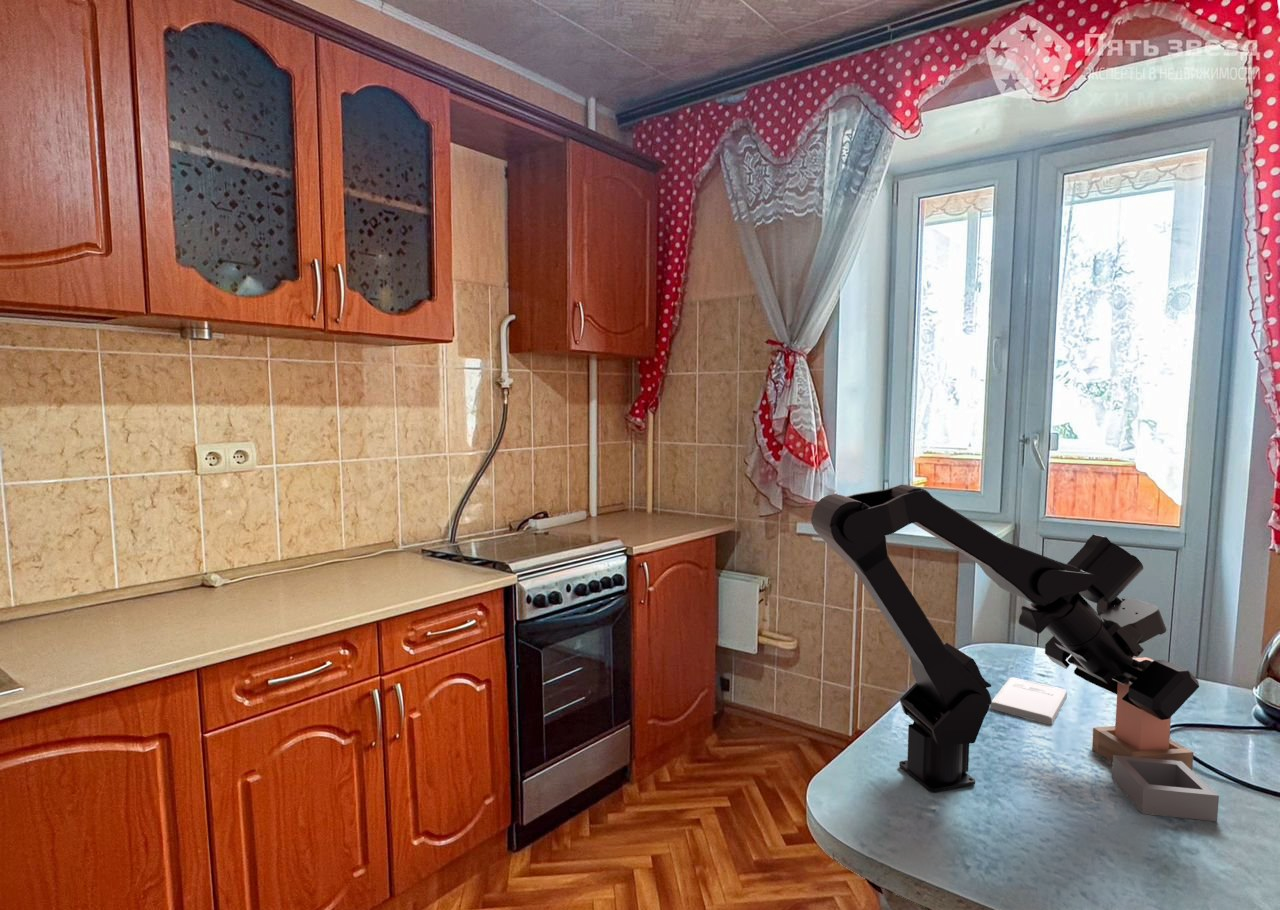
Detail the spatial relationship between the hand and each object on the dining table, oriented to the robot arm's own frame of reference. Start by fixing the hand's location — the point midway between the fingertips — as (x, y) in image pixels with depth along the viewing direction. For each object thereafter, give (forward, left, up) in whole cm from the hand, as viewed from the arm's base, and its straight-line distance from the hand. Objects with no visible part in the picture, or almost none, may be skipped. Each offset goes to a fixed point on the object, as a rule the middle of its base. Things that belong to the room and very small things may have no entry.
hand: (1153, 707), depth 89 cm
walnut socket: (-1, 0, -7) cm, 7 cm away
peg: (-1, 0, -7) cm, 7 cm away
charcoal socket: (-7, -7, -7) cm, 12 cm away
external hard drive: (-1, +18, -8) cm, 20 cm away
